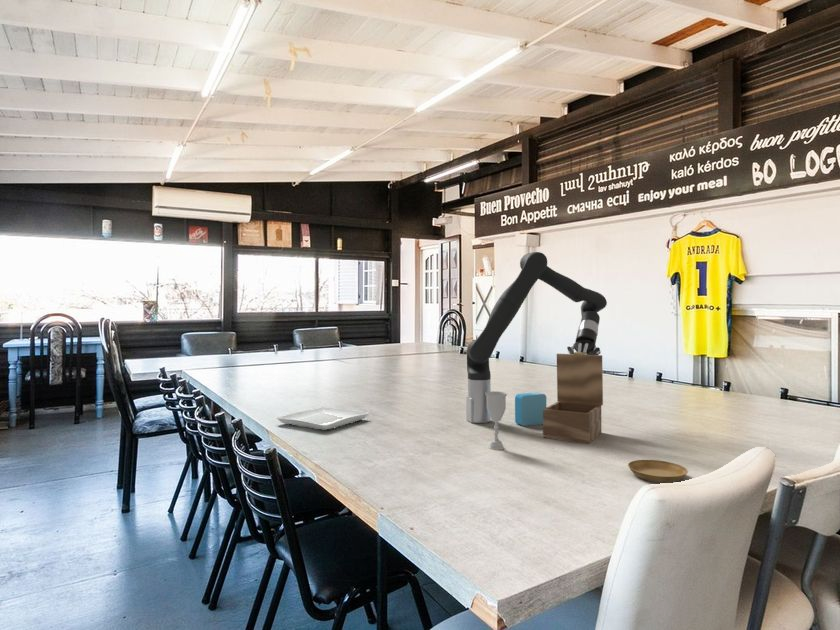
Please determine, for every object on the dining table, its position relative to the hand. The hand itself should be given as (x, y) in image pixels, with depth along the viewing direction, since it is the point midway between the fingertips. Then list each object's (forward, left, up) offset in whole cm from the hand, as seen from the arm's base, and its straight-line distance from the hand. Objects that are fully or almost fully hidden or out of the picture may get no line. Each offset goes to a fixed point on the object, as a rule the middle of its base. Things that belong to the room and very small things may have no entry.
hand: (579, 367), depth 190 cm
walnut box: (-7, -7, -23) cm, 25 cm away
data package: (-14, +13, -24) cm, 30 cm away
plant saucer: (-8, -53, -24) cm, 59 cm away
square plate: (-94, +36, -24) cm, 103 cm away
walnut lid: (-2, -2, -4) cm, 4 cm away
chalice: (-40, -16, -24) cm, 49 cm away
